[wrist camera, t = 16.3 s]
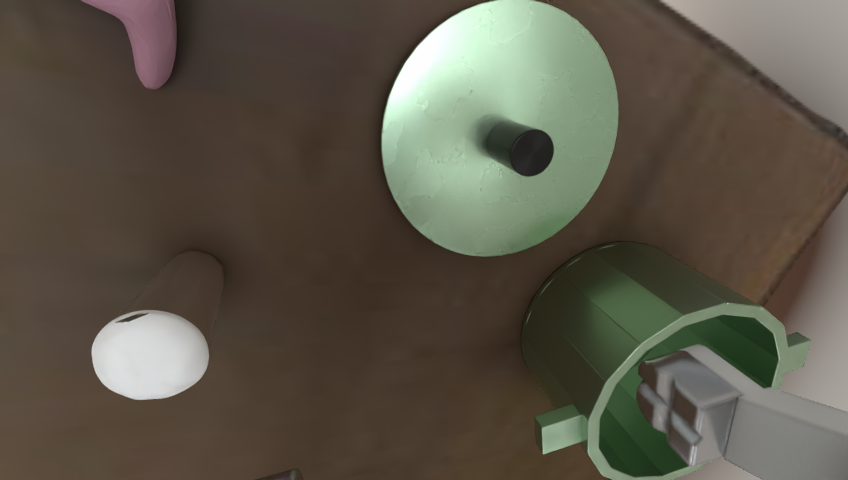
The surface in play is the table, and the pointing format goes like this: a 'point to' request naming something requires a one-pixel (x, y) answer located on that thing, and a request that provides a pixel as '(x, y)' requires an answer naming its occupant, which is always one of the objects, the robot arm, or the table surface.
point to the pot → (636, 350)
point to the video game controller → (147, 35)
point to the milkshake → (163, 331)
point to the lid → (499, 127)
